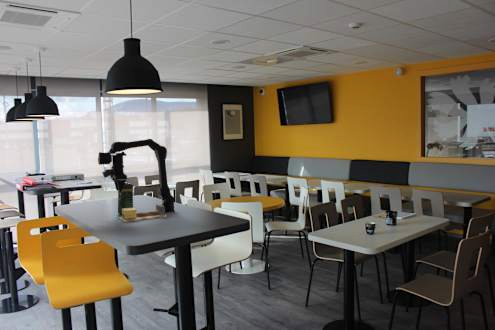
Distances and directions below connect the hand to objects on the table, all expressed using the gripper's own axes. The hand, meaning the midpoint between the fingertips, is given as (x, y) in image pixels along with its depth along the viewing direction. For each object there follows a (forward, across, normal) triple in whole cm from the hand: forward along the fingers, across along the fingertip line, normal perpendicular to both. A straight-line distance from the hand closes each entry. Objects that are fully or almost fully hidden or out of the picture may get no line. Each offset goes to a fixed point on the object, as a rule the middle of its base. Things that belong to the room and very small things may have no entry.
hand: (118, 191), depth 226 cm
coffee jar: (+15, -7, +4) cm, 17 cm away
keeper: (+13, +12, +3) cm, 18 cm away
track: (+15, +11, +10) cm, 21 cm away
